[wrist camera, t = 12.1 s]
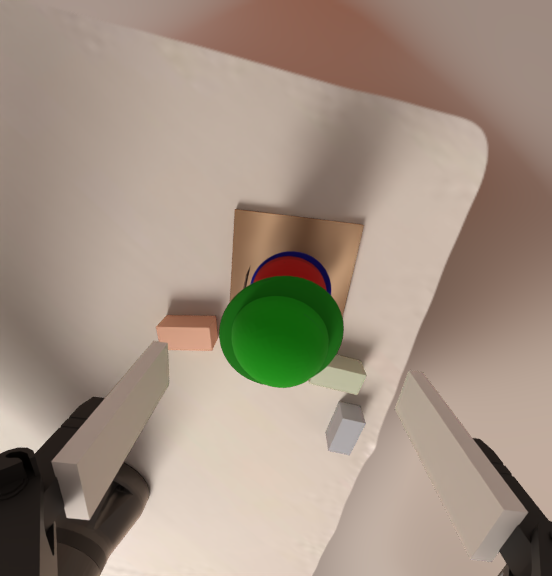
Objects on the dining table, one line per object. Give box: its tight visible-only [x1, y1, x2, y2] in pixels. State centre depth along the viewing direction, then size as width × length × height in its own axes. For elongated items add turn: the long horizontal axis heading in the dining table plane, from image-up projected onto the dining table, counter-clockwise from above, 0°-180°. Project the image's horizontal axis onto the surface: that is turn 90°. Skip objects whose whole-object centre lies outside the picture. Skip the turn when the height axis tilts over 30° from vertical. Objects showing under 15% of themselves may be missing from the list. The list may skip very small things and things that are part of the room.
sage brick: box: [309, 355, 367, 395], centre depth 32 cm, size 6×3×3 cm, turn 75°
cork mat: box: [230, 209, 364, 316], centre depth 29 cm, size 13×13×1 cm
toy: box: [219, 251, 344, 388], centre depth 22 cm, size 9×9×15 cm
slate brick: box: [326, 401, 366, 455], centre depth 36 cm, size 6×3×3 cm, turn 166°
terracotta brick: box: [156, 315, 218, 351], centre depth 31 cm, size 6×3×3 cm, turn 91°
